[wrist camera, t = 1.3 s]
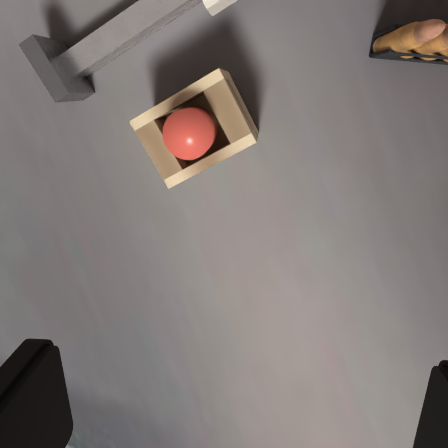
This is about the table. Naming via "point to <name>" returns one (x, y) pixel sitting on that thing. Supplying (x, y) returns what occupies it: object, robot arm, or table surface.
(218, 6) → the carriage
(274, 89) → the table surface
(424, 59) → the ammunition clip
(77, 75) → the rail
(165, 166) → the wooden box
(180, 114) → the button
